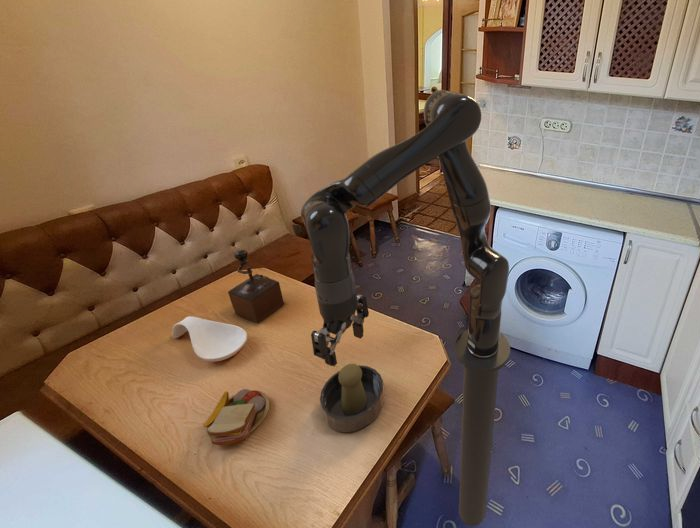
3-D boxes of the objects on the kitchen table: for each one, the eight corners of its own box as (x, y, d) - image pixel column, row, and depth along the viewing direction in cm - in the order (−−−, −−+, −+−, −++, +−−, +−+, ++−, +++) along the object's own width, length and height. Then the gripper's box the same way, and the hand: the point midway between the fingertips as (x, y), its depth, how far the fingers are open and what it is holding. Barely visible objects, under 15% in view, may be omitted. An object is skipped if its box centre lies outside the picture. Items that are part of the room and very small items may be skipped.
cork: (368, 409, 84) (364, 377, 80) (341, 417, 82) (335, 384, 78) (366, 388, 89) (361, 356, 85) (340, 395, 87) (335, 363, 83)
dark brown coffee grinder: (287, 303, 118) (276, 257, 111) (257, 324, 109) (244, 276, 101) (253, 290, 123) (241, 246, 116) (223, 310, 114) (207, 263, 107)
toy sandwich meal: (280, 393, 88) (276, 380, 86) (250, 450, 76) (245, 436, 74) (229, 393, 88) (224, 379, 86) (190, 449, 75) (184, 435, 73)
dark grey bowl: (350, 371, 94) (348, 357, 92) (395, 391, 89) (394, 377, 87) (309, 418, 82) (306, 403, 80) (358, 444, 77) (356, 429, 75)
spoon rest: (258, 342, 103) (253, 323, 100) (220, 374, 92) (213, 354, 89) (200, 321, 110) (193, 302, 107) (158, 348, 99) (150, 329, 96)
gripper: (324, 318, 64) (336, 381, 71) (373, 276, 76) (379, 333, 83) (294, 306, 67) (308, 368, 74) (345, 267, 79) (354, 323, 86)
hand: (346, 349), depth 79 cm, fingers open, 8 cm apart
